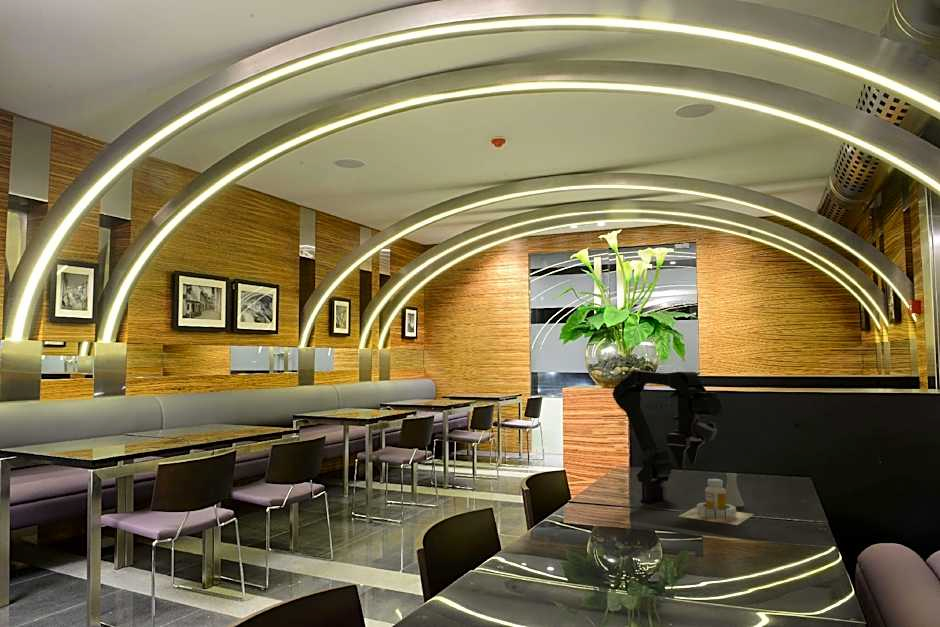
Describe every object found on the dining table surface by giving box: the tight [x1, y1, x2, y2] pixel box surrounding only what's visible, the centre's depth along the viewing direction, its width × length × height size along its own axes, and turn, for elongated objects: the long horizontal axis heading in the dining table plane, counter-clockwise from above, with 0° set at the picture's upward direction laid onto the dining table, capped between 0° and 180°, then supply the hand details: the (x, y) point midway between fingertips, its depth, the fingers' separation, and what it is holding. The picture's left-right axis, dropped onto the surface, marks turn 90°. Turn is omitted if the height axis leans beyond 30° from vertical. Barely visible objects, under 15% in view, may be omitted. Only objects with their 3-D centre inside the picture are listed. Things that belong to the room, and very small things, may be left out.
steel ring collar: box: [696, 501, 737, 519], centre depth 186 cm, size 10×10×2 cm
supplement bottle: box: [704, 478, 726, 509], centre depth 187 cm, size 5×5×10 cm
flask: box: [724, 472, 745, 508], centre depth 201 cm, size 7×7×10 cm
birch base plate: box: [677, 506, 755, 526], centre depth 186 cm, size 16×16×1 cm
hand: (686, 466), depth 199 cm, fingers open, 9 cm apart
